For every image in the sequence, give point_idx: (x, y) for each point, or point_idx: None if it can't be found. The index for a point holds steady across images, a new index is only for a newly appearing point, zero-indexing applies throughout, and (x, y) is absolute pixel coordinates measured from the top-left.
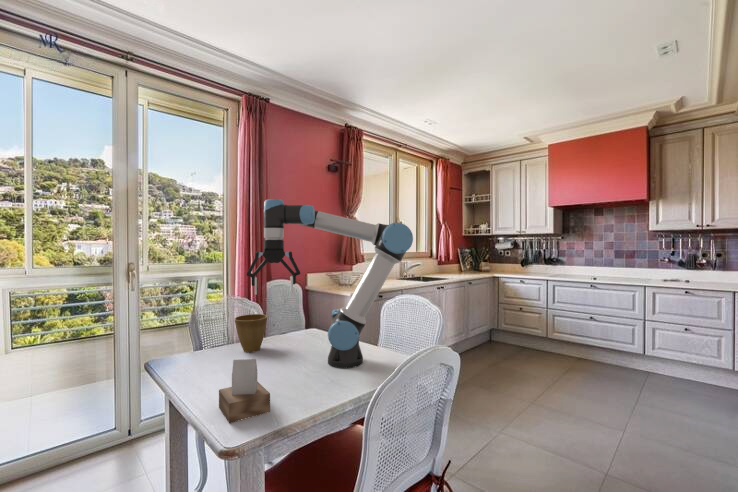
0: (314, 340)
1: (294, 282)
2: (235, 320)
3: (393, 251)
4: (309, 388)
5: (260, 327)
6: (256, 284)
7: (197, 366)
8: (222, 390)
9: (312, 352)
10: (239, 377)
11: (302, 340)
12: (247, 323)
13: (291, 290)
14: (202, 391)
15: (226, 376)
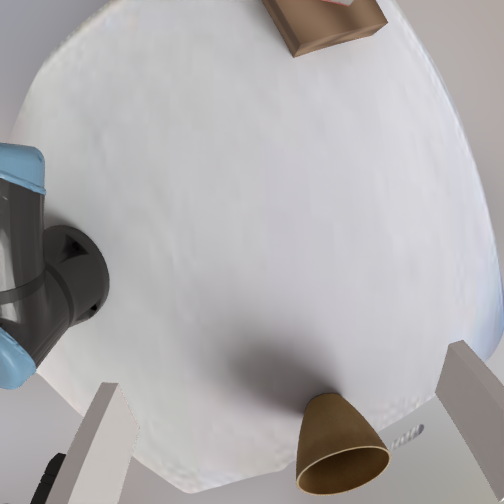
0: (169, 441)
1: (58, 469)
2: (389, 452)
3: None
4: (156, 92)
5: (314, 441)
6: (502, 406)
7: (443, 310)
8: (378, 14)
9: (161, 369)
10: None
11: (199, 446)
12: (358, 441)
13: (106, 402)
14: (425, 138)
15: (386, 227)
